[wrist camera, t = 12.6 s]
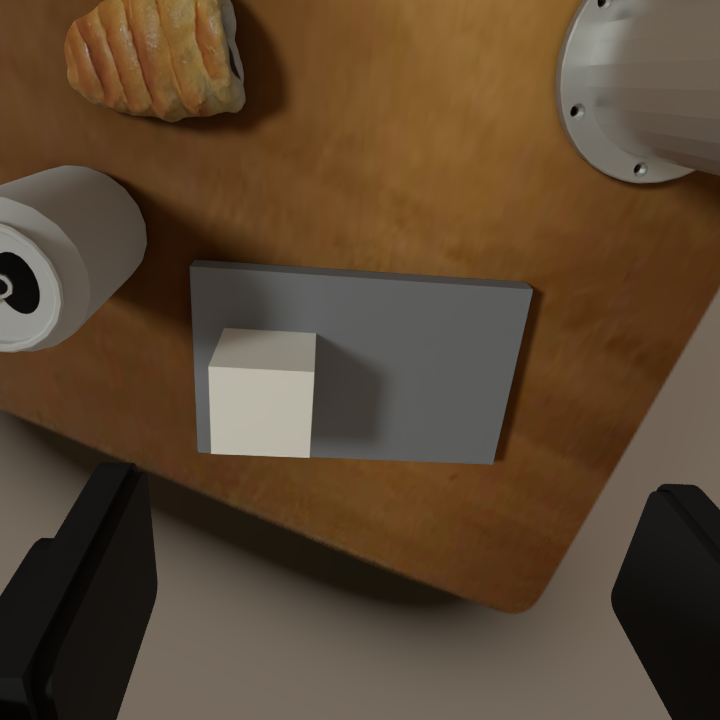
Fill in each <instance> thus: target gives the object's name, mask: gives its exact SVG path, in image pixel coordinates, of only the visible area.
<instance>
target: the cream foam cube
mask: <svg viewBox="0 0 720 720" xmlns="http://www.w3.org/2000/svg"><path fill="white" fill-rule="evenodd" d="M315 347H316V333H303V332H286V331H269V330H252V329H235V328H224V330H223V332H222V335H221V337H220V339H219V342H218V344H217V347H216V349H215V352H214V354H213V356H212V359H211V361H210V364H209V366H208V371H209V402H210V432H211V454H229V455H254V456H279V457H303V458H309V456H310V439H311V422H312V405H313V388H314V370H315Z"/></svg>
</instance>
